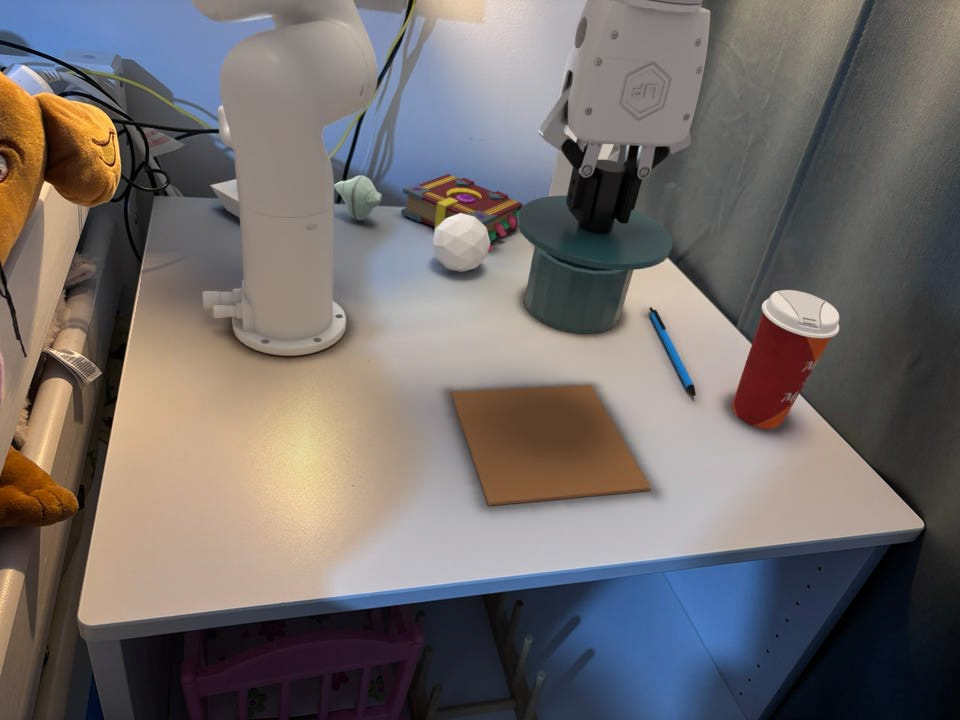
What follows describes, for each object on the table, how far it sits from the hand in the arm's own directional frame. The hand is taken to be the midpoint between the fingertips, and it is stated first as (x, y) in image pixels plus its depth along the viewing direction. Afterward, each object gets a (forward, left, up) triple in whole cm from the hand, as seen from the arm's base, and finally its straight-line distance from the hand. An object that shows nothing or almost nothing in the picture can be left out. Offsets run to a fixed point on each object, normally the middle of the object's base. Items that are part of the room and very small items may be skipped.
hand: (597, 214), depth 62 cm
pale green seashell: (-15, +48, -23) cm, 55 cm away
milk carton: (+16, +40, -23) cm, 49 cm away
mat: (-2, -3, -23) cm, 23 cm away
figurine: (-31, +50, -23) cm, 63 cm away
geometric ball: (-3, +33, -23) cm, 40 cm away
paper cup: (+24, -1, -23) cm, 34 cm away
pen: (+19, +11, -23) cm, 32 cm away
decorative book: (+1, +47, -23) cm, 52 cm away
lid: (0, 0, -2) cm, 2 cm away
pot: (+10, +22, -23) cm, 33 cm away
